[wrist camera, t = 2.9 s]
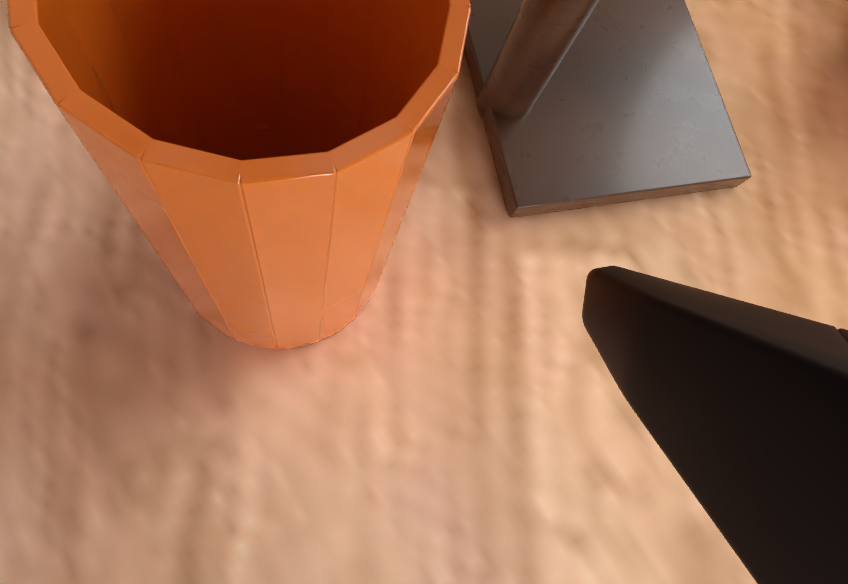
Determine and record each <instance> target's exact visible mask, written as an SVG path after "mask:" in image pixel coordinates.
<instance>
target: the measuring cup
mask: <svg viewBox="0 0 848 584" xmlns="http://www.w3.org/2000/svg"><path fill="white" fill-rule="evenodd" d="M470 7H471V5H470V1H469V0H8V16H9V28H10V29H11V34H12V35H13V37H14V38H15V40H16V42H17V43H18V45H19V46H20V48H21V50H22V51H23V53H24V54H25V56H26V58H27V59H28V61H29V62H30V64H31V66H32V67H33V69H34V70H35V72H36V74H37V75H38V77H39V78H40V80H41V82H42V83H43V85H44V86H45V88H46V90H47V91H48V93H49V94H50V96H51V98H52V99H53V101H54V102H55V104H56V105H57V107H58V108H59V110H60V111H61V113H62V114H63V116H64V117H65V119H66V120H67V122H68V123H69V124H70V126H71V127H72V129H73V130H74V132H75V133H76V135H77V136H78V138H79V139H80V141H81V142H82V144H83V145H84V146H85V148H86V149H87V151H88V152H89V154H90V155H91V157H92V158H93V160H94V161H95V163H96V164H97V166H98V167H99V168H100V170H101V171H102V173H103V174H104V176H105V177H106V179H107V180H108V182H109V183H110V185H111V186H112V188H113V189H114V190H115V192H116V193H117V195H118V196H119V198H120V199H121V201H122V202H123V204H124V205H125V207H126V208H127V210H128V211H129V212H130V214H131V215H132V217H133V218H134V220H135V221H136V223H137V224H138V226H139V227H140V229H141V230H142V232H143V233H144V234H145V236H146V237H147V239H148V240H149V242H150V243H151V245H152V246H153V248H154V249H155V251H156V252H157V254H158V255H159V256H160V258H161V259H162V261H163V262H164V264H165V265H166V267H167V268H168V270H169V271H170V273H171V274H172V276H173V277H174V278H175V280H176V281H177V283H178V284H179V286H180V287H181V289H182V290H183V292H184V293H185V295H186V296H187V297H188V299H189V300H190V302H191V303H192V305H193V306H194V308H195V309H196V311H197V312H198V314H199V315H200V316H201V317H203V318H204V319H205V320H207V321H208V322H209V323H210V324H211V325H213V326H214V327H215V328H216V329H218V330H219V331H221V332H222V333H224V334H226V335H227V336H229V337H231V338H233V339H236V340H238V341H240V342H243V343H246V344H249V345H253V346H257V347H263V348H271V349H287V348H296V347H301V346H306V345H310V344H313V343H316V342H318V341H321V340H324V339H326V338H328V337H329V336H331V335H333V334H335V333H337V332H338V331H340V330H341V329H342V328H344V327H345V326H347V325H348V324H349V323H350V322H351V321H352V320H353V319H354V318H355V317H356V316H357V315H358V314H359V312H360V311H361V310H362V309H363V307H364V306H365V304H366V303H367V301H368V300H369V298H370V296H371V295H372V293H373V292H374V290H375V289H376V287H377V284H378V282H379V279H380V276H381V274H382V271H383V269H384V266H385V264H386V261H387V258H388V256H389V253H390V251H391V248H392V246H393V243H394V240H395V238H396V235H397V233H398V230H399V227H400V225H401V222H402V220H403V217H404V215H405V212H406V209H407V207H408V204H409V202H410V199H411V197H412V194H413V191H414V189H415V186H416V184H417V181H418V179H419V176H420V173H421V171H422V168H423V166H424V163H425V160H426V158H427V155H428V153H429V150H430V148H431V145H432V142H433V140H434V137H435V135H436V132H437V130H438V127H439V124H440V122H441V119H442V117H443V114H444V112H445V109H446V106H447V104H448V101H449V99H450V96H451V93H452V91H453V88H454V86H455V83H456V81H457V78H458V75H459V73H460V67H461V62H462V56H463V51H464V45H465V40H466V35H467V29H468V24H469V18H470V13H471V8H470Z"/></svg>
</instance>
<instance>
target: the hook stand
mask: <svg viewBox="0 0 848 584" xmlns="http://www.w3.org/2000/svg"><path fill="white" fill-rule="evenodd" d="M469 1H470V5H471V7H470V8H471V13H470V18H469V24H468V29H467V35H466V40H465V45H464V51H465V54H466V58H467V62H468V66H469V69H470V73H471V77H472V80H473V84H474V88H475V92H476V95H477V99H478V100H477V108H478V112H479V114H480V116H481V118H482V119H483V121H484V125H485V129H486V132H487V136H488V140H489V143H490V147H491V151H492V155H493V158H494V162H495V166H496V169H497V173H498V177H499V180H500V184H501V188H502V192H503V195H504V199H505V203H506V206H507V210H508V214H509V217H518V216H526V215H533V214H540V213H547V212H555V211H562V210H569V209H577V208H584V207H591V206H598V205H606V204H613V203H620V202H628V201H635V200H642V199H649V198H657V197H664V196H671V195H679V194H686V193H693V192H700V191H708V190H715V189H722V188H729V187H737V186H738V185H740V184H741V183H743V182H744V181H746V180H747V179H749V178H750V177H751V173H750V171H749V168H748V166H747V163H746V160H745V158H744V155H743V152H742V150H741V147H740V145H739V142H738V139H737V137H736V134H735V132H734V129H733V126H732V124H731V121H730V118H729V116H728V113H727V111H726V108H725V105H724V103H723V100H722V97H721V95H720V92H719V90H718V87H717V84H716V82H715V79H714V77H713V74H712V71H711V69H710V66H709V63H708V61H707V58H706V56H705V53H704V50H703V48H702V45H701V43H700V40H699V37H698V35H697V32H696V29H695V27H694V24H693V22H692V19H691V16H690V14H689V11H688V8H687V6H686V3H685V1H684V0H469Z"/></svg>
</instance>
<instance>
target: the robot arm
mask: <svg viewBox="0 0 848 584" xmlns="http://www.w3.org/2000/svg"><path fill="white" fill-rule="evenodd" d="M582 318H583V323H584V326H585V328H586V330H587V332H588V333H589V335H590V337H591V339H592V341H593V342H594V344H595V346H596V348H597V349H598V351H599V353H600V355H601V357H602V358H603V360H604V362H605V364H606V366H607V367H608V369H609V371H610V373H611V374H612V376H613V378H614V380H615V382H616V383H617V385H618V387H619V388H620V390H621V392H622V393H623V395H624V397H625V398H626V400H627V401H628V403H629V404H630V406H631V407H632V409H633V410H634V412H635V413H636V414H637V416H638V417H639V419H640V420H641V421H642V423H643V424H644V426H645V427H646V428H647V430H648V431H649V433H650V434H651V435H652V437H653V438H654V439H655V441H656V442H657V444H658V445H659V446H660V448H661V449H662V451H663V452H664V453H665V455H666V456H667V458H668V459H669V460H670V462H671V463H672V465H673V466H674V467H675V469H676V470H677V472H678V473H679V474H680V476H681V477H682V479H683V480H684V481H685V483H686V484H687V486H688V487H689V488H690V490H691V491H692V493H693V494H694V495H695V497H696V498H697V500H698V501H699V502H700V504H701V505H702V507H703V508H704V509H705V511H706V512H707V514H708V515H709V516H710V518H711V519H712V521H713V522H714V523H715V525H716V526H717V528H718V529H719V530H720V532H721V533H722V535H723V536H724V537H725V539H726V540H727V542H728V543H729V544H730V546H731V547H732V549H733V550H734V551H735V553H736V554H737V556H738V557H739V558H740V560H741V561H742V563H743V564H744V565H745V567H746V568H747V570H748V571H749V572H750V574H751V575H752V577H753V578H754V579H755V581H756V582H757V584H848V330H845V329H838V330H837V329H836V328H835V327H834V326H830V325H827V324H823V323H820V322H816V321H812V320H809V319H805V318H802V317H798V316H794V315H791V314H787V313H783V312H780V311H776V310H773V309H769V308H765V307H762V306H758V305H755V304H751V303H747V302H744V301H740V300H736V299H733V298H729V297H726V296H722V295H718V294H715V293H711V292H708V291H704V290H700V289H697V288H693V287H690V286H686V285H682V284H679V283H675V282H671V281H668V280H664V279H661V278H657V277H653V276H650V275H646V274H643V273H639V272H635V271H632V270H628V269H625V268H621V267H617V266H608V267H602V268H596V269H593V270H592V271H590V272H589V274H588V276H587V280H586V288H585V295H584V303H583V310H582Z"/></svg>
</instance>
